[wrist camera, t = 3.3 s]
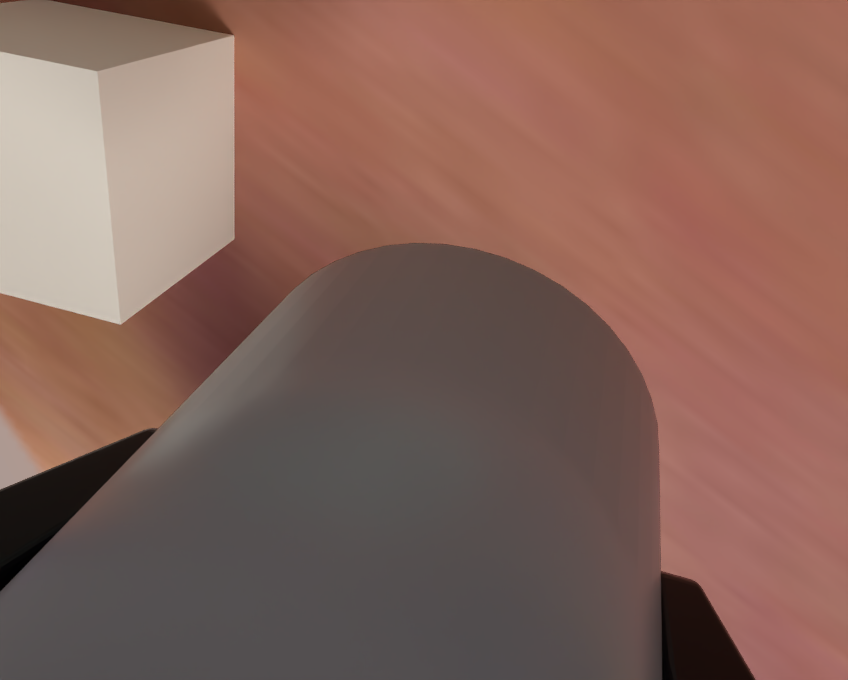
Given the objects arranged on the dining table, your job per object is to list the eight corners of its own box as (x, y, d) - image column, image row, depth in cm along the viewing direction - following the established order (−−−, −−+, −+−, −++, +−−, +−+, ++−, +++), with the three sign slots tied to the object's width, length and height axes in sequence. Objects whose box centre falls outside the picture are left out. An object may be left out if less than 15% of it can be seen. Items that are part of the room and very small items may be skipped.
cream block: (235, 237, 19) (121, 324, 15) (66, 198, 20) (-87, 269, 16) (235, 34, 17) (97, 70, 13) (41, -2, 18) (-149, 21, 14)
